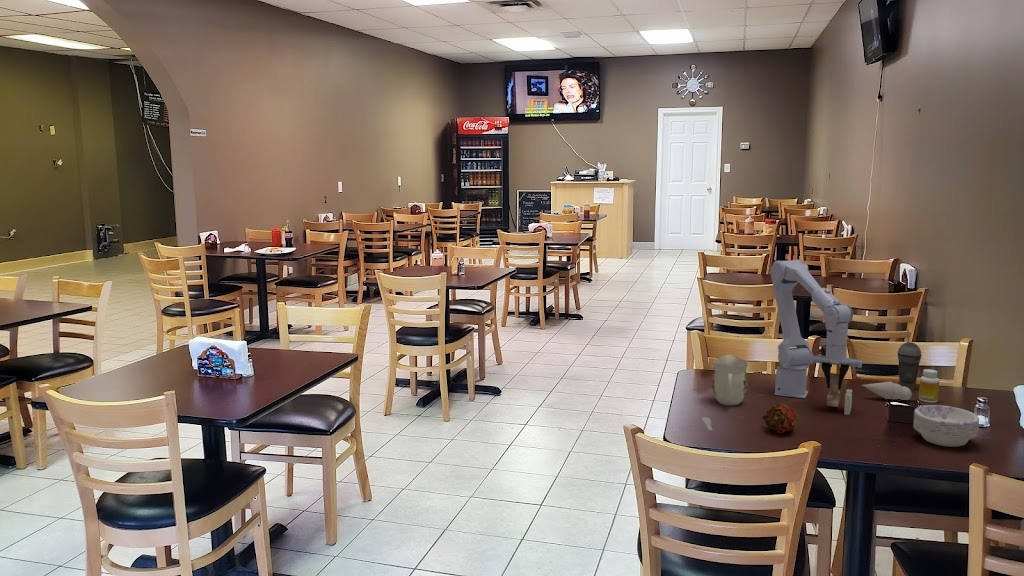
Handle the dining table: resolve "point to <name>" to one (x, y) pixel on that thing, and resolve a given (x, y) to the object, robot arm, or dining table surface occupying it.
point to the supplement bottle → (929, 386)
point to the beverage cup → (908, 363)
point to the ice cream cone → (890, 390)
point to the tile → (848, 402)
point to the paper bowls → (945, 425)
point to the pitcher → (729, 379)
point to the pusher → (833, 391)
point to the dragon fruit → (780, 418)
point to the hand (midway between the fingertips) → (834, 387)
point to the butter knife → (707, 422)
